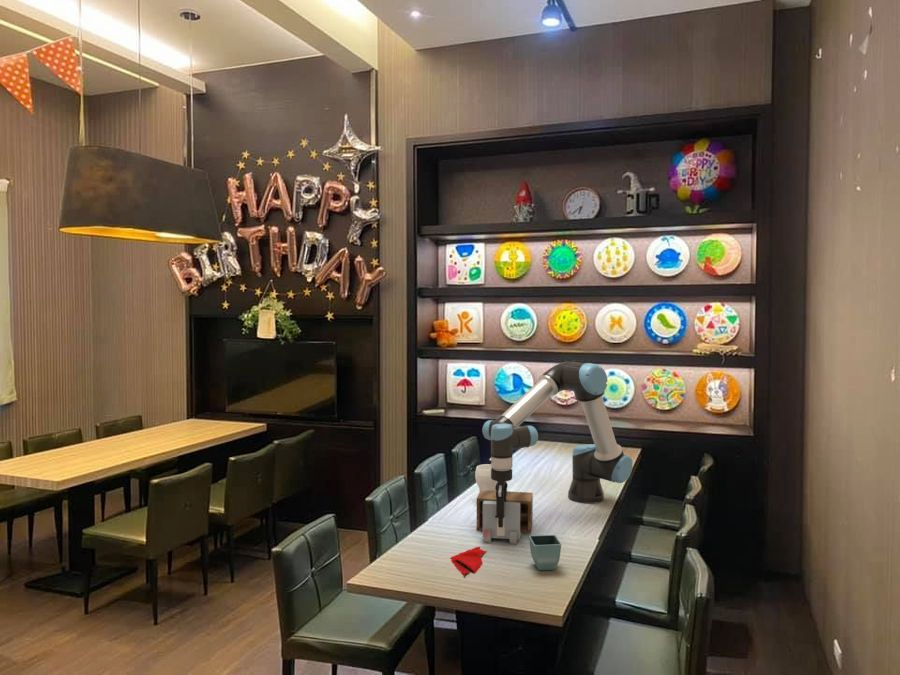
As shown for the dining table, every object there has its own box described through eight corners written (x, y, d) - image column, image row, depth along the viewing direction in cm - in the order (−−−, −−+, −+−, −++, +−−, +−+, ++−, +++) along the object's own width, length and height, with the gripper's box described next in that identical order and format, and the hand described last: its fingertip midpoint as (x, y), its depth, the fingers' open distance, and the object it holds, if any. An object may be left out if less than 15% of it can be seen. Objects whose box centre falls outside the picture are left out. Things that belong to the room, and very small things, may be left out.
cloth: (465, 546, 230) (466, 539, 230) (503, 552, 224) (503, 545, 224) (433, 574, 206) (433, 566, 206) (473, 581, 201) (473, 574, 200)
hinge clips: (519, 532, 241) (519, 520, 240) (516, 544, 229) (516, 532, 229) (488, 531, 243) (488, 519, 242) (484, 542, 231) (484, 530, 231)
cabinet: (532, 523, 251) (532, 492, 250) (530, 533, 240) (531, 501, 239) (480, 520, 254) (480, 489, 254) (476, 530, 243) (476, 498, 243)
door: (482, 537, 233) (482, 503, 232) (484, 532, 237) (484, 499, 236) (519, 539, 230) (519, 505, 230) (520, 534, 235) (520, 501, 234)
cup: (498, 506, 271) (498, 470, 270) (473, 505, 273) (473, 469, 272) (501, 499, 282) (501, 464, 281) (477, 497, 284) (477, 463, 283)
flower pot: (528, 562, 214) (528, 535, 213) (554, 561, 215) (555, 534, 214) (533, 573, 205) (534, 545, 205) (561, 572, 206) (561, 544, 205)
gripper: (493, 462, 241) (493, 524, 242) (488, 473, 224) (488, 541, 226) (514, 462, 239) (513, 526, 241) (510, 474, 223) (509, 542, 224)
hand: (501, 533), depth 233 cm, fingers closed on door, 3 cm apart
